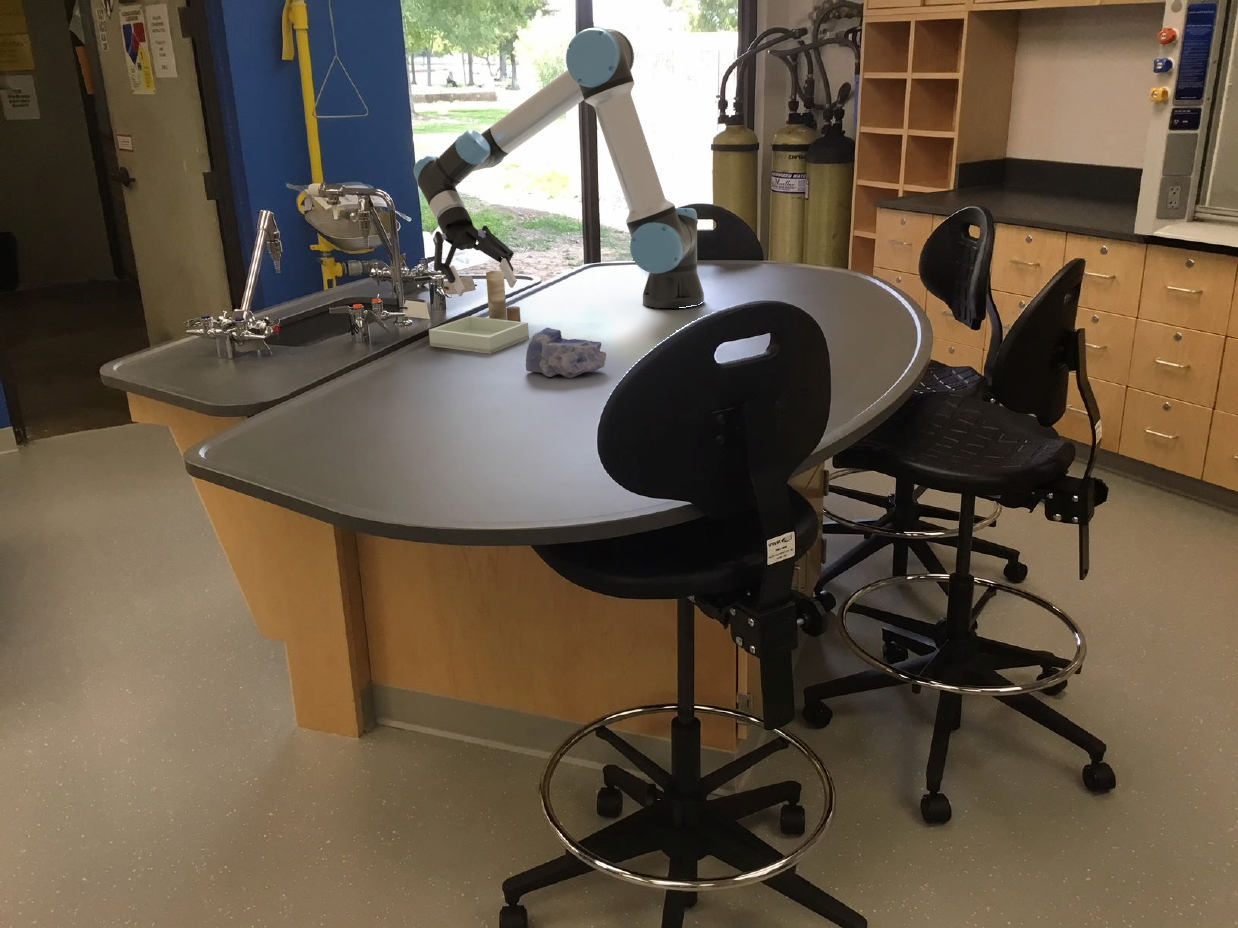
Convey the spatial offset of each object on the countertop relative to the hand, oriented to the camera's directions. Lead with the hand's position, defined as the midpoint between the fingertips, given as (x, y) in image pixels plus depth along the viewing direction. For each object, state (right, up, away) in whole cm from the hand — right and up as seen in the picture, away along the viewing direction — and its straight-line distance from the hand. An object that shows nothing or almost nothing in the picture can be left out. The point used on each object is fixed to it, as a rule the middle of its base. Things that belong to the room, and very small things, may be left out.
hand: (488, 288), depth 232 cm
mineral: (+20, -23, -38) cm, 48 cm away
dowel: (+2, -8, +2) cm, 8 cm away
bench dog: (+6, -10, -4) cm, 12 cm away
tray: (0, -14, -13) cm, 19 cm away
